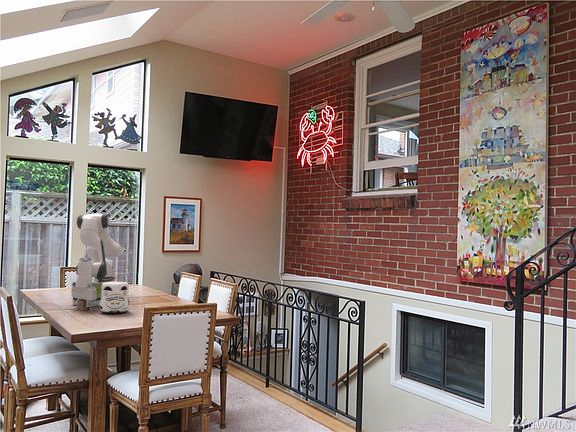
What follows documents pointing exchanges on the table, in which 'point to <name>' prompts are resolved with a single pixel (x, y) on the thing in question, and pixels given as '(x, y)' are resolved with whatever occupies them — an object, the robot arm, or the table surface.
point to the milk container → (114, 297)
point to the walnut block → (82, 305)
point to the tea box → (97, 301)
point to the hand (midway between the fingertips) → (83, 306)
